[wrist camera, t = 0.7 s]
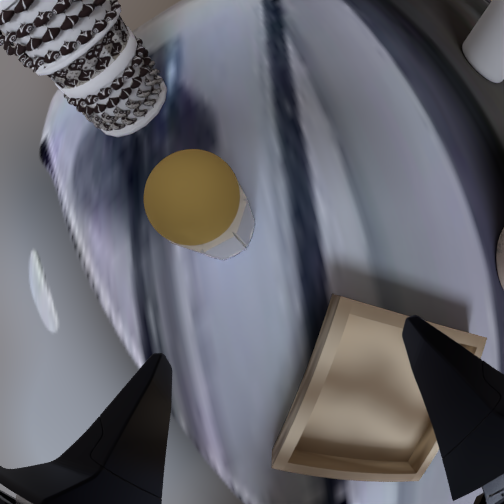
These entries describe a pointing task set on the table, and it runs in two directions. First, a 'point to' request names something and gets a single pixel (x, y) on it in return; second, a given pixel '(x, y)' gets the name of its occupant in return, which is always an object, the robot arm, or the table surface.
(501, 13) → the milk bottle
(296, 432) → the tray
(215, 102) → the table surface
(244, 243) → the cup
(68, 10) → the decorative candle
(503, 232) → the teacup with lid
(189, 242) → the ball
